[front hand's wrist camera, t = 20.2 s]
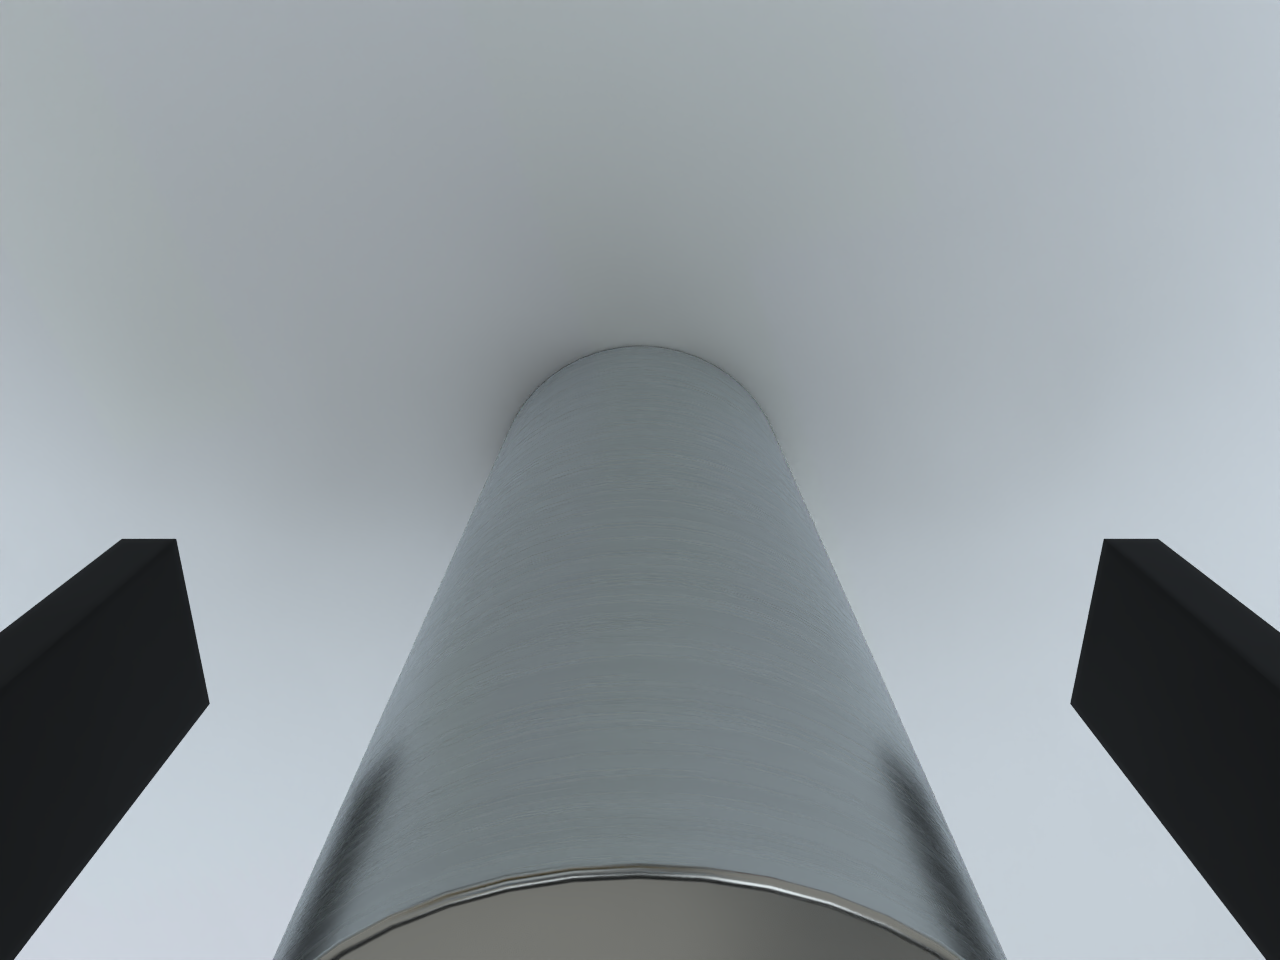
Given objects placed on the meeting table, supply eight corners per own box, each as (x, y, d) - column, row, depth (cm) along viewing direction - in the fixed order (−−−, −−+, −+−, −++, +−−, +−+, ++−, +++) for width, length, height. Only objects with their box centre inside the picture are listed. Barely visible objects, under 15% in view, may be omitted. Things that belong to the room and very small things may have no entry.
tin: (548, 634, 19) (391, 1478, 7) (461, 388, 17) (40, 980, 5) (806, 572, 18) (1109, 1374, 6) (747, 311, 16) (1024, 775, 5)
